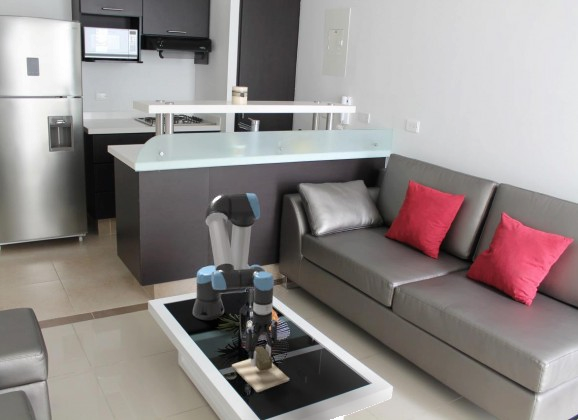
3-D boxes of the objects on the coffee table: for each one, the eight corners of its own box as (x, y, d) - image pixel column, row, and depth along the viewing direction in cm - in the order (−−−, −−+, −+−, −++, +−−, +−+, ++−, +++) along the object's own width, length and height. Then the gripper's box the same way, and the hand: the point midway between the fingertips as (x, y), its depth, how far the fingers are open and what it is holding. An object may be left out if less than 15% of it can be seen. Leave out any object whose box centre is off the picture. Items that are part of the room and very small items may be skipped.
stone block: (259, 372, 215) (260, 361, 213) (248, 357, 224) (248, 347, 223) (273, 369, 217) (273, 358, 216) (261, 355, 227) (261, 344, 226)
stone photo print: (231, 366, 226) (231, 364, 226) (262, 356, 234) (262, 354, 234) (257, 392, 210) (257, 390, 210) (289, 380, 219) (289, 378, 218)
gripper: (246, 320, 206) (244, 374, 212) (288, 309, 216) (285, 360, 223) (236, 312, 211) (235, 364, 218) (277, 301, 222) (275, 351, 229)
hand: (260, 362), depth 221 cm, fingers closed on stone block, 6 cm apart
